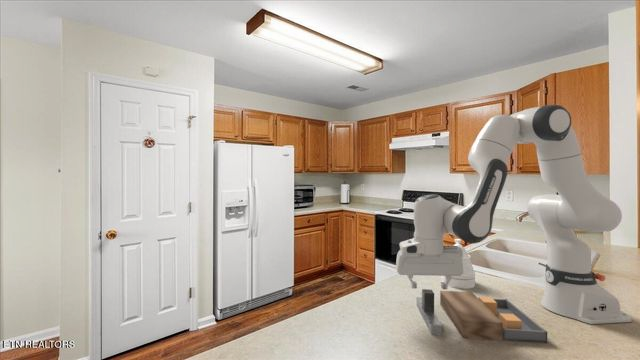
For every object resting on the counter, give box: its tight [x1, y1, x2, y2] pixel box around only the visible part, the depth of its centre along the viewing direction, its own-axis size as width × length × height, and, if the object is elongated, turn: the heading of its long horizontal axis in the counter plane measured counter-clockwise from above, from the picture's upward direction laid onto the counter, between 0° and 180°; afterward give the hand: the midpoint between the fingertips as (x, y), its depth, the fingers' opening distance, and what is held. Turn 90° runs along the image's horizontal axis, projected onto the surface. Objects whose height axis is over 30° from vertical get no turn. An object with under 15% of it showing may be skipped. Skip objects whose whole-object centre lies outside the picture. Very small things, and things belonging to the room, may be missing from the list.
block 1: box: [477, 296, 497, 315], centre depth 92 cm, size 4×4×4 cm
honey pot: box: [441, 238, 476, 290], centre depth 118 cm, size 13×13×18 cm
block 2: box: [499, 313, 522, 330], centre depth 81 cm, size 4×4×4 cm
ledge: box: [439, 290, 504, 341], centre depth 88 cm, size 10×20×5 cm, turn 174°
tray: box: [492, 298, 548, 344], centre depth 86 cm, size 12×20×3 cm, turn 174°
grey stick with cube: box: [415, 288, 443, 336], centre depth 89 cm, size 3×18×9 cm, turn 173°
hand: (429, 288), depth 89 cm, fingers open, 8 cm apart
